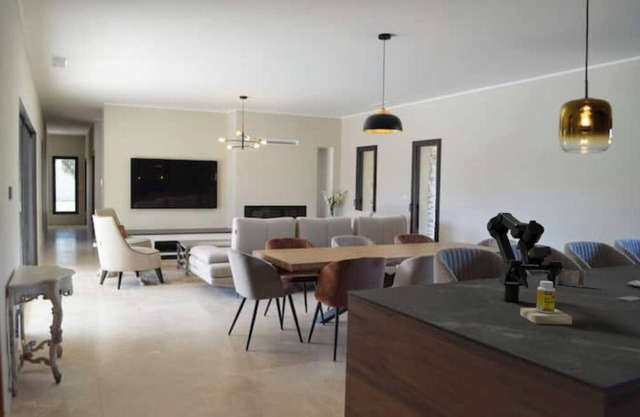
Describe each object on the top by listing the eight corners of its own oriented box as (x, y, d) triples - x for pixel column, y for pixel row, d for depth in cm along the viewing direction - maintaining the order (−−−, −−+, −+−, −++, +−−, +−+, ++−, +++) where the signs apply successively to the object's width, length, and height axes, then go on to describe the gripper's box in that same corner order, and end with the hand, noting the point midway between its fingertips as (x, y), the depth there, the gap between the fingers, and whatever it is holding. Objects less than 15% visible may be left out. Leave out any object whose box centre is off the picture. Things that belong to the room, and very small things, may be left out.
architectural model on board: (556, 286, 243) (557, 265, 242) (557, 285, 246) (558, 264, 245) (584, 288, 238) (585, 267, 238) (583, 287, 241) (584, 266, 240)
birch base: (520, 314, 181) (520, 307, 180) (554, 315, 181) (554, 308, 181) (535, 323, 169) (535, 315, 168) (571, 324, 169) (572, 316, 169)
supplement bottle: (543, 314, 171) (544, 283, 171) (532, 310, 177) (534, 280, 176) (557, 313, 173) (559, 283, 172) (547, 309, 178) (548, 280, 178)
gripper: (510, 237, 183) (521, 273, 172) (562, 238, 183) (576, 275, 173) (500, 256, 191) (511, 292, 181) (551, 257, 192) (564, 293, 181)
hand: (540, 288), depth 179 cm, fingers open, 9 cm apart
